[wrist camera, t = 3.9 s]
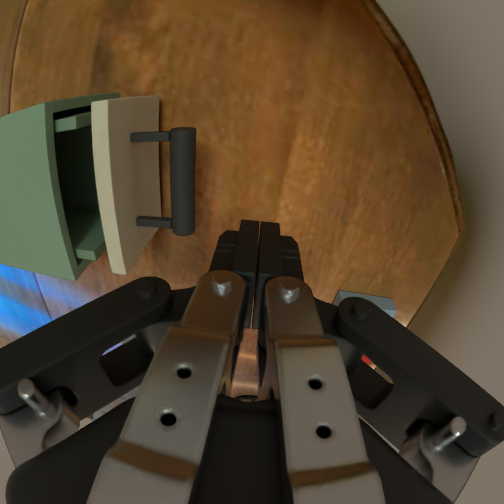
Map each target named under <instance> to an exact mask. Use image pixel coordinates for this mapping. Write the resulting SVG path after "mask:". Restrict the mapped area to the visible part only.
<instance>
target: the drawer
mask: <svg viewBox="0 0 504 504" xmlns="http://www.w3.org/2000/svg"><path fill="white" fill-rule="evenodd" d="M53 130H54V145H55V155H56V164H57V172H58V179H59V186H60V192H61V198H62V203H63V209H64V213H65V218H66V223H67V227H68V232H69V236H70V240H71V244H72V248H73V251H74V255H75V258H81V259H88V260H94V261H96V260H97V259H98V258H99V257H100V256H101V254H102V253H103V252H104V251H105V250H106V249H107V252H108V257H109V261H110V266H111V270H112V273H116V274H123V275H127V273H128V272H129V270H130V269H131V267H132V266H133V264H134V263H135V261H136V260H137V258H138V257H139V255H140V254H141V252H142V251H143V250H144V248H145V247H146V245H147V244H148V243H149V241H150V240H151V238H152V237H153V236H154V234H155V233H156V231H157V230H158V229H159V228H168V229H171V228H172V231H173V233H174V234H175V235H178V236H188V235H191V234H193V233H194V232H195V156H196V128H192V127H178V128H172V129H170V131H159V95H156V96H139V97H126V98H116V99H107V100H101V101H95V102H92V103H91V111H87V112H81V113H75V114H70V115H65V116H60V117H55V118H53ZM168 141H170V192H171V215H172V218H167V217H161V201H160V180H159V142H168Z"/></svg>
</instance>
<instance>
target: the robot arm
mask: <svg viewBox="0 0 504 504" xmlns="http://www.w3.org/2000/svg"><path fill="white" fill-rule="evenodd" d="M259 222H260V221H252V220H242V219H241V224H240V229H239V231H230V230H227V231H225V232H224V233H223V234H222V235H220V236H219V240H218V243H217V246H216V249H215V252H214V256H213V259H212V262H211V265H210V269H209V272H208V273H206V274H204V275H203V276H202V277H201V278H200V279H199V281H198V283H197V285H196V286H194V287H191V288H187V289H178V290H171V288H170V285H169V284H168V283H167V282H166V281H165V280H163V279H161V278H158V277H142V278H139V279H136V280H134V281H132V282H130V283H128V284H126V285H124V286H121V287H119V288H117V289H115V290H113V291H111V292H109V293H107V294H105V295H103V296H101V297H99V298H97V299H95V300H93V301H91V302H89V303H87V304H85V305H83V306H81V307H79V308H77V309H75V310H73V311H71V312H69V313H67V314H65V315H63V316H61V317H59V318H57V319H55V320H53V321H51V322H50V323H48V324H46V325H44V326H42V327H40V328H38V329H36V330H34V331H32V332H30V333H28V334H27V335H25V336H23V337H21V338H19V339H17V340H15V341H13V342H12V343H10V344H8V345H6V346H4V347H2V348H0V429H1V432H2V435H3V438H4V441H5V444H6V446H7V449H8V451H9V454H10V456H11V459H12V461H13V463H14V466H15V468H16V469H15V470H14V471H13V472H12V474H11V475H10V477H9V479H8V482H7V485H6V494H5V495H6V503H7V504H454V503H455V501H456V500H457V498H458V497H459V495H460V493H461V492H462V490H463V488H464V487H465V485H466V483H467V481H468V479H469V478H470V476H471V474H472V472H473V470H474V468H475V466H476V464H477V463H478V460H479V458H480V457H481V456H482V455H483V454H484V453H486V452H488V451H489V450H491V449H492V448H494V447H495V446H496V445H498V444H500V443H501V442H502V441H503V440H504V406H503V405H502V404H501V403H499V402H498V401H497V400H496V399H495V398H493V397H492V396H491V395H490V394H489V393H487V392H486V391H485V390H484V389H483V388H481V387H480V386H479V385H478V384H477V383H475V382H474V381H473V380H472V379H471V378H469V377H468V376H467V375H466V374H464V373H463V372H462V371H461V370H459V369H458V368H457V367H456V366H454V365H453V364H452V363H451V362H449V361H448V360H447V359H446V358H444V357H443V356H442V355H441V354H439V353H438V352H437V351H436V350H434V349H433V348H432V347H430V346H429V345H428V344H427V343H425V342H424V341H422V340H421V339H420V338H419V337H417V336H416V335H415V334H414V333H412V332H411V331H410V330H408V329H407V328H406V327H404V326H403V325H402V324H401V323H399V322H398V321H397V320H395V319H394V318H393V317H391V316H390V315H389V314H387V313H386V312H385V311H383V310H382V309H381V308H379V307H378V306H377V305H375V304H374V303H372V302H371V301H369V300H367V299H364V298H361V297H347V298H345V299H343V300H342V301H341V302H340V303H339V306H336V305H333V304H330V303H326V302H323V301H321V300H319V299H317V298H315V297H314V296H313V294H312V290H311V288H310V287H309V286H308V285H307V284H306V283H305V282H304V278H303V271H302V265H301V260H300V254H299V248H298V243H297V242H296V241H295V240H294V239H293V238H292V237H291V236H281V235H280V225H279V223H273V222H263V221H261V226H260V235H259ZM258 238H259V244H258ZM254 288H255V290H254ZM253 297H254V304H253ZM252 305H253V318H252V329H258V339H257V345H256V358H257V381H258V401H253V402H245V401H241V400H238V399H235V398H232V397H230V395H231V389H232V385H233V380H234V375H235V370H236V365H237V361H238V356H239V351H240V344H241V342H242V340H243V335H244V328H249V329H250V322H251V314H252ZM134 334H135V335H136V337H135V338H133V339H131V340H130V341H128V342H126V343H124V344H123V345H121V346H119V347H117V348H116V349H114V350H112V351H110V352H109V353H107V354H105V355H103V356H102V354H103V353H104V352H105V351H106V350H108V349H109V348H111V347H113V346H115V345H116V344H118V343H120V342H122V341H123V340H125V339H127V338H129V337H130V336H132V335H134ZM363 355H365V356H366V357H367V358H368V359H369V360H371V361H372V362H373V363H374V364H375V365H376V366H378V367H379V368H380V369H381V370H382V371H384V372H385V373H386V374H388V376H389V377H390V378H391V379H392V381H393V384H391V383H389V382H388V381H386V380H385V379H384V378H383V377H382V376H380V375H379V374H378V373H377V372H376V371H375V370H373V369H372V368H371V367H370V366H369V365H368V364H366V363H365V362H364V361H363V360H362V357H363ZM140 384H141V386H140V388H139V391H138V393H137V395H136V396H135V397H132V398H130V399H128V400H126V401H124V402H122V403H120V404H119V405H117V406H116V407H114V408H113V409H111V410H110V411H108V412H107V413H105V414H103V415H102V416H100V417H99V418H97V419H96V420H94V421H93V422H91V423H90V424H88V425H86V426H85V427H83V428H82V429H80V430H79V425H80V421H81V420H83V419H84V418H86V417H88V416H90V415H91V414H93V413H95V412H96V411H98V410H100V409H101V408H103V407H105V406H106V405H108V404H110V403H111V402H113V401H115V400H116V399H118V398H120V397H121V396H123V395H124V394H126V393H128V392H129V391H131V390H132V389H134V388H136V387H137V386H139V385H140ZM357 413H358V414H359V415H361V416H362V417H363V418H364V419H365V420H366V421H367V422H368V423H369V424H370V425H372V426H373V427H374V428H375V429H376V430H377V431H378V432H379V433H380V434H382V435H383V436H384V437H385V438H386V439H387V440H388V441H390V442H391V443H392V444H393V445H394V446H395V447H396V448H398V449H399V450H400V451H399V454H398V453H397V452H396V451H395V450H394V449H393V448H392V447H391V446H390V445H389V444H388V443H386V441H384V440H383V439H382V438H381V437H380V436H379V435H378V434H377V433H376V432H375V431H374V430H373V429H372V428H371V427H370V426H369V425H368V424H367V423H365V422H364V421H363V420H361V419H360V418H359V417H358V415H357Z"/></svg>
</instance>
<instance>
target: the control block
mask: <svg viewBox="0 0 504 504" xmlns="http://www.w3.org/2000/svg"><path fill="white" fill-rule="evenodd" d="M347 297H361V298H364V299H367V300H369V301H371V302H372V303H374V304H375V305H377V306H378V307H379V308H381V309H382V310H383V311H385V312H386V313H387V314H389V315H390V316H391V317H393V318H394V316H395V315H396V313H397V309H396V307H395V304H394V302H393V300H392V299H391V298H385V297H378V296H372V295H365V294H359V293H353V292H347V291H341V290H339V291H338V293H337V295H336V297H335V299H334V301H333V303H332V304H333V305H336V306H339V303H340V302H341V301H342V300H343V299H345V298H347Z"/></svg>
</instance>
